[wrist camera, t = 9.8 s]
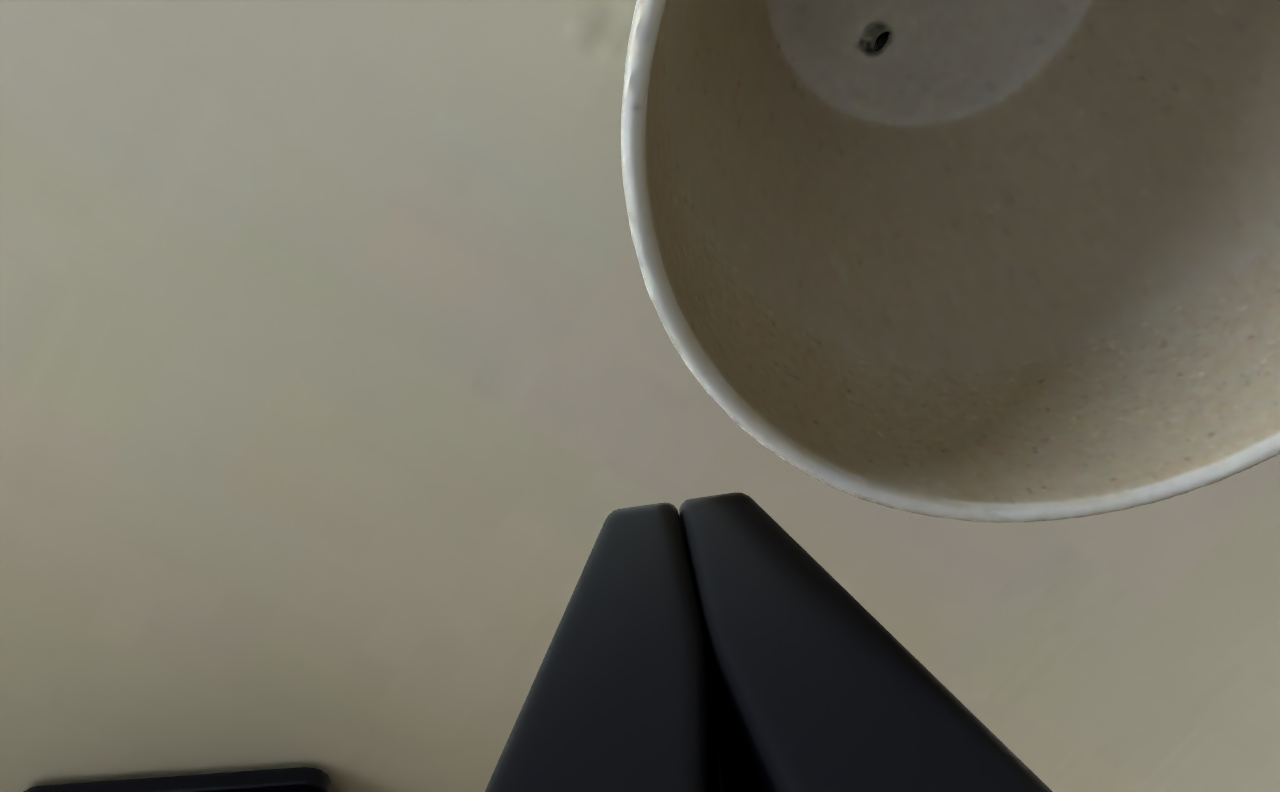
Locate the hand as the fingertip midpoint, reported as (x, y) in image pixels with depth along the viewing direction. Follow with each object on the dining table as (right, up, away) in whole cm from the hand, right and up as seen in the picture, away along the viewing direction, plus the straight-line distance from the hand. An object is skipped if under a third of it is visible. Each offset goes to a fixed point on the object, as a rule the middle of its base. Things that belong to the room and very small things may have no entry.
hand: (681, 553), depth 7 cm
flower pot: (+4, +8, +10) cm, 13 cm away
